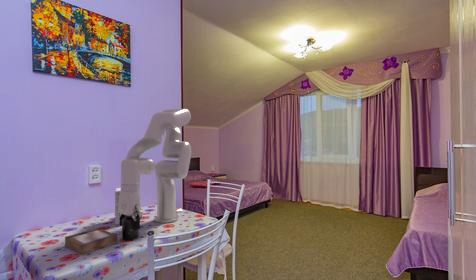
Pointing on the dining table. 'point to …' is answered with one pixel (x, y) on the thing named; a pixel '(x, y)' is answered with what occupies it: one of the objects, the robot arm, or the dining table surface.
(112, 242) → the dock
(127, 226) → the supplement bottle
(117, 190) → the supplement box
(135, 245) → the dining table surface
